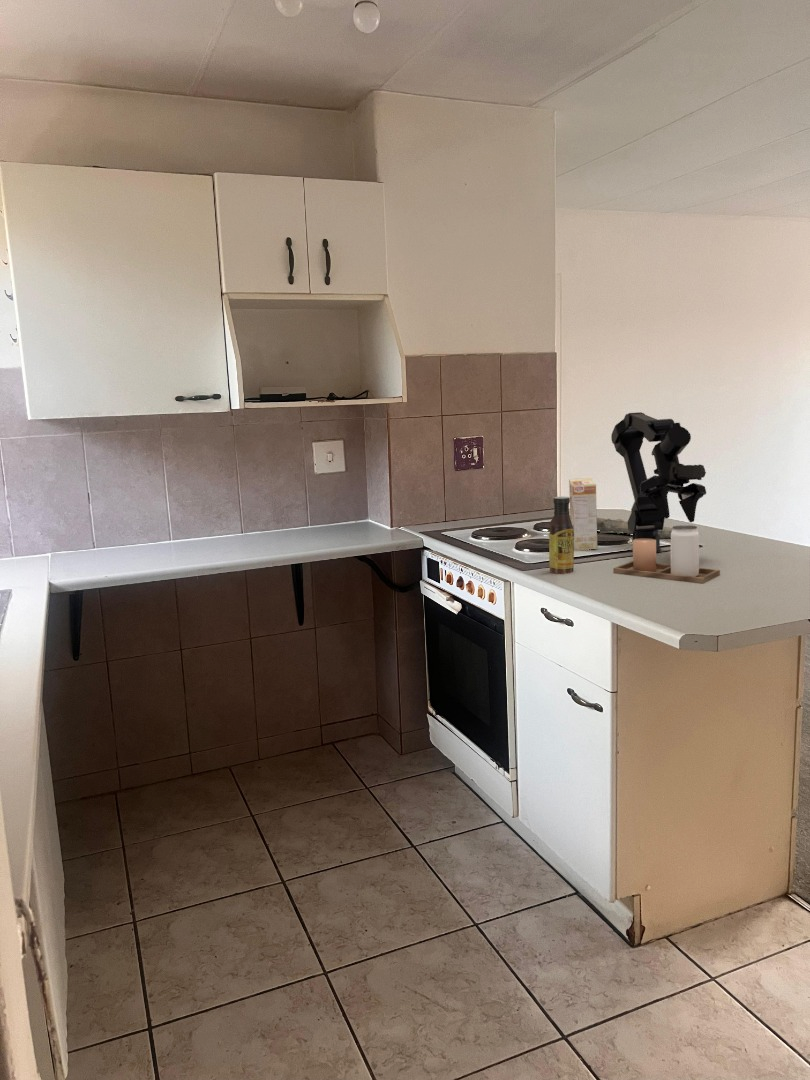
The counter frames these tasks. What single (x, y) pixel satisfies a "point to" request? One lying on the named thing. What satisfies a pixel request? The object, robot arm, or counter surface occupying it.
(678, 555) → the can
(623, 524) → the elongated rock
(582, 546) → the coffeecake box
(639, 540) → the jar
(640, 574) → the wooden divided tray
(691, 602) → the counter surface
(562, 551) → the sauce bottle
